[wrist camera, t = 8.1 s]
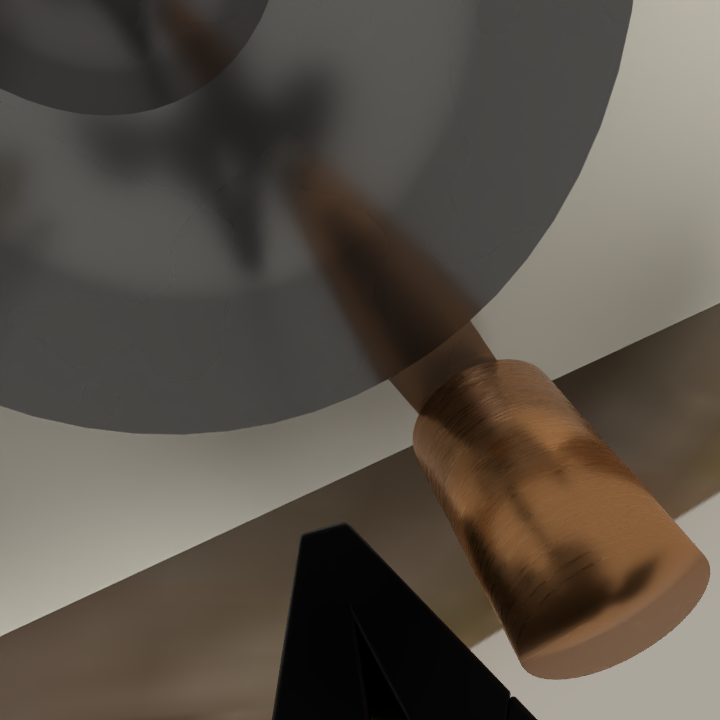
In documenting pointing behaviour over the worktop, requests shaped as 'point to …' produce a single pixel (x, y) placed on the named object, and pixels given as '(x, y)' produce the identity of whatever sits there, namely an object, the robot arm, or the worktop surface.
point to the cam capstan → (331, 260)
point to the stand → (384, 402)
